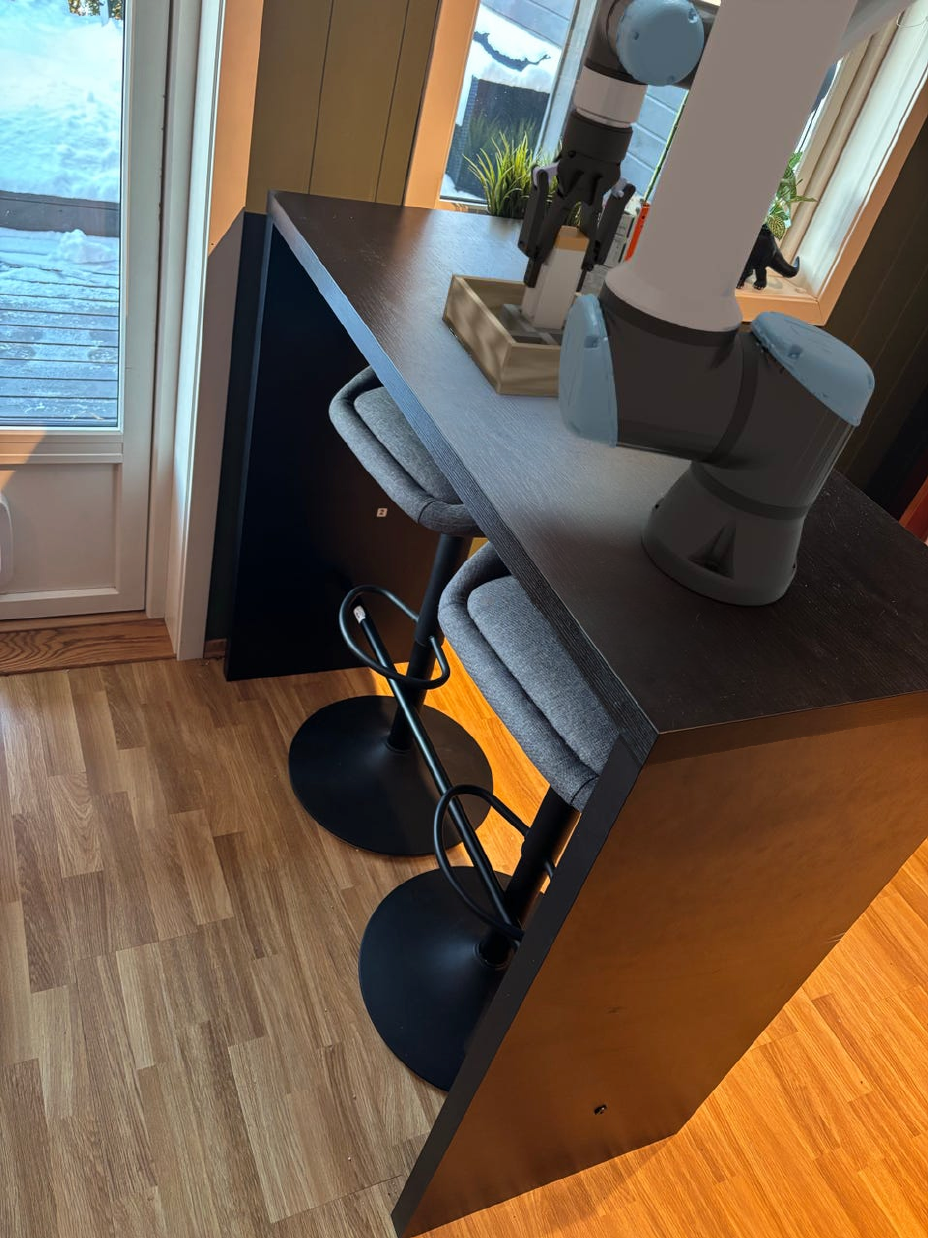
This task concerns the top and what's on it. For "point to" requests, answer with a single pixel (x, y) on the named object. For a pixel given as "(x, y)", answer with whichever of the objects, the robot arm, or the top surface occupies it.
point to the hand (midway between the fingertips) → (543, 312)
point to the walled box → (504, 335)
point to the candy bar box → (615, 246)
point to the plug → (559, 278)
